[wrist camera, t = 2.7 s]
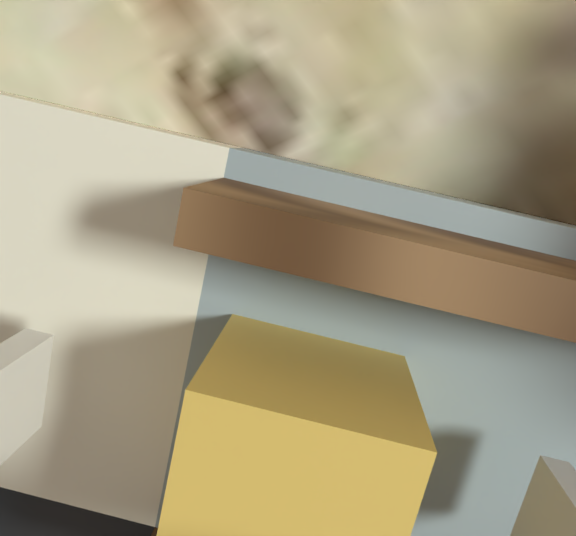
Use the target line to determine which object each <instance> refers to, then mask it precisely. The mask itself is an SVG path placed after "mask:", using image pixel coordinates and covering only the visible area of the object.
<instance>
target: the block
mask: <svg viewBox="0 0 576 536" xmlns="http://www.w3.org/2000/svg"><path fill="white" fill-rule="evenodd" d="M436 455H437V450H436V447H435V444H434V441H433V438H432V435H431V432H430V429H429V426H428V424H427V421H426V418H425V415H424V412H423V409H422V406H421V403H420V400H419V397H418V394H417V391H416V388H415V385H414V382H413V379H412V376H411V373H410V370H409V367H408V365H407V362H406V359H405V356H402V355H398V354H394V353H390V352H386V351H382V350H378V349H374V348H370V347H365V346H361V345H357V344H353V343H349V342H345V341H341V340H337V339H333V338H329V337H325V336H320V335H316V334H312V333H308V332H304V331H300V330H296V329H292V328H288V327H284V326H280V325H275V324H271V323H267V322H263V321H259V320H255V319H251V318H247V317H243V316H239V315H235V314H232V316H231V317H230V319H229V320H228V322H227V324H226V325H225V327H224V328H223V330H222V332H221V333H220V335H219V336H218V338H217V340H216V341H215V343H214V345H213V346H212V348H211V349H210V351H209V353H208V354H207V356H206V357H205V359H204V361H203V362H202V364H201V365H200V367H199V369H198V370H197V372H196V373H195V375H194V377H193V378H192V380H191V381H190V383H189V385H188V386H187V388H186V389H185V394H184V399H183V404H182V409H181V414H180V419H179V424H178V429H177V434H176V439H175V444H174V450H173V455H172V460H171V465H170V470H169V475H168V480H167V485H166V490H165V495H164V500H163V505H162V510H161V515H160V520H159V525H158V530H157V535H156V536H411V532H412V529H413V526H414V523H415V520H416V517H417V514H418V511H419V508H420V505H421V502H422V499H423V495H424V492H425V489H426V486H427V483H428V480H429V477H430V474H431V471H432V468H433V465H434V462H435V458H436Z"/></svg>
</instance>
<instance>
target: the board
mask: <svg viewBox="0 0 576 536" xmlns="http://www.w3.org/2000/svg"><path fill="white" fill-rule="evenodd" d="M220 178H228V179H232V180H236V181H240V182H245V183H249V184H253V185H257V186H261V187H266V188H270V189H274V190H278V191H283V192H287V193H291V194H295V195H300V196H304V197H308V198H312V199H317V200H321V201H325V202H329V203H334V204H338V205H342V206H346V207H350V208H355V209H359V210H363V211H367V212H372V213H376V214H380V215H384V216H389V217H393V218H397V219H401V220H406V221H410V222H414V223H418V224H423V225H427V226H431V227H435V228H439V229H444V230H448V231H452V232H456V233H461V234H465V235H469V236H473V237H478V238H482V239H486V240H490V241H495V242H499V243H503V244H507V245H511V246H516V247H520V248H524V249H528V250H533V251H537V252H541V253H545V254H550V255H554V256H558V257H562V258H567V259H571V260H575V261H576V226H575V225H571V224H567V223H562V222H558V221H554V220H550V219H545V218H541V217H537V216H532V215H528V214H524V213H520V212H515V211H511V210H507V209H503V208H498V207H494V206H490V205H485V204H481V203H477V202H473V201H468V200H464V199H460V198H455V197H451V196H447V195H443V194H438V193H434V192H430V191H426V190H421V189H417V188H413V187H408V186H404V185H400V184H396V183H391V182H387V181H383V180H379V179H374V178H370V177H366V176H361V175H357V174H353V173H349V172H344V171H340V170H336V169H331V168H327V167H323V166H319V165H314V164H310V163H306V162H302V161H297V160H293V159H289V158H284V157H280V156H276V155H272V154H267V153H263V152H259V151H254V150H250V149H246V148H242V147H237V146H233V145H229V144H225V143H220V142H216V141H212V140H207V139H203V138H199V137H195V136H190V135H186V134H182V133H178V132H173V131H169V130H165V129H160V128H156V127H152V126H148V125H143V124H139V123H135V122H130V121H126V120H122V119H118V118H113V117H109V116H105V115H101V114H96V113H92V112H88V111H83V110H79V109H75V108H71V107H66V106H62V105H58V104H54V103H49V102H45V101H41V100H36V99H32V98H28V97H24V96H19V95H15V94H11V93H6V92H2V91H0V343H2V342H3V341H5V340H7V339H9V338H10V337H12V336H14V335H15V334H17V333H19V332H21V331H22V330H24V329H26V328H27V329H31V330H35V331H39V332H43V333H47V334H51V335H54V337H53V344H52V352H51V359H50V367H49V374H48V382H47V389H46V397H45V405H44V412H43V420H42V427H41V428H39V429H38V430H37V431H36V432H35V433H34V434H33V435H32V436H31V437H30V438H29V439H28V440H27V441H26V442H25V443H24V444H23V445H22V446H20V447H19V448H18V449H17V450H16V451H15V452H14V453H13V454H12V455H11V456H10V457H9V458H8V459H7V460H6V461H5V462H4V463H3V464H2V465H0V536H151V534H152V532H153V530H154V528H155V527H156V528H158V525H159V520H160V515H161V510H162V505H163V500H164V495H165V490H166V485H167V480H168V475H169V470H170V465H171V460H172V455H173V450H174V444H175V439H176V434H177V429H178V424H179V419H180V414H181V409H182V404H183V399H184V394H185V389H186V388H187V386H188V385H189V383H190V381H191V380H192V378H193V377H194V375H195V373H196V372H197V370H198V369H199V367H200V365H201V364H202V362H203V361H204V359H205V357H206V356H207V354H208V353H209V351H210V349H211V348H212V346H213V345H214V343H215V341H216V340H217V338H218V336H219V335H220V333H221V332H222V330H223V328H224V327H225V325H226V324H227V322H228V320H229V319H230V317H231V316H232V314H235V315H239V316H243V317H247V318H251V319H255V320H259V321H263V322H267V323H271V324H275V325H280V326H284V327H288V328H292V329H296V330H300V331H304V332H308V333H312V334H316V335H320V336H325V337H329V338H333V339H337V340H341V341H345V342H349V343H353V344H357V345H361V346H365V347H370V348H374V349H378V350H382V351H386V352H390V353H394V354H398V355H402V356H405V359H406V362H407V365H408V367H409V370H410V373H411V376H412V379H413V382H414V385H415V388H416V391H417V394H418V397H419V400H420V403H421V406H422V409H423V412H424V415H425V418H426V421H427V424H428V426H429V429H430V432H431V435H432V438H433V441H434V444H435V447H436V450H437V455H436V458H435V462H434V465H433V468H432V471H431V474H430V477H429V480H428V483H427V486H426V489H425V492H424V495H423V499H422V502H421V505H420V508H419V511H418V514H417V517H416V520H415V523H414V526H413V529H412V532H411V536H510V535H511V532H512V529H513V526H514V524H515V521H516V518H517V516H518V513H519V510H520V508H521V505H522V502H523V500H524V497H525V494H526V492H527V489H528V486H529V484H530V481H531V478H532V476H533V473H534V470H535V467H536V465H537V462H538V459H539V457H540V455H542V456H546V457H550V458H554V459H558V460H562V461H567V462H570V464H571V465H572V466H573V468H574V469H575V470H576V343H574V342H570V341H566V340H562V339H558V338H553V337H549V336H545V335H541V334H537V333H533V332H528V331H524V330H520V329H516V328H512V327H508V326H504V325H499V324H495V323H491V322H487V321H483V320H479V319H475V318H470V317H466V316H462V315H458V314H454V313H450V312H445V311H441V310H437V309H433V308H429V307H425V306H421V305H416V304H412V303H408V302H404V301H400V300H396V299H392V298H387V297H383V296H379V295H375V294H371V293H367V292H363V291H358V290H354V289H350V288H346V287H342V286H338V285H333V284H329V283H325V282H321V281H317V280H313V279H309V278H304V277H300V276H296V275H292V274H288V273H284V272H280V271H275V270H271V269H267V268H263V267H259V266H255V265H250V264H246V263H242V262H238V261H234V260H230V259H226V258H221V257H217V256H213V255H209V254H205V253H201V252H197V251H192V250H188V249H184V248H180V247H176V246H173V243H174V237H175V231H176V226H177V220H178V215H179V209H180V204H181V198H182V193H183V188H184V187H188V186H192V185H196V184H200V183H204V182H208V181H212V180H216V179H220Z"/></svg>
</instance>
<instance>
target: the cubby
mask: <svg viewBox="0 0 576 536" xmlns="http://www.w3.org/2000/svg"><path fill="white" fill-rule="evenodd" d="M173 246H176V247H180V248H184V249H188V250H192V251H197V252H201V253H205V254H209V255H213V256H217V257H221V258H226V259H230V260H234V261H238V262H242V263H246V264H250V265H255V266H259V267H263V268H267V269H271V270H275V271H280V272H284V273H288V274H292V275H296V276H300V277H304V278H309V279H313V280H317V281H321V282H325V283H329V284H333V285H338V286H342V287H346V288H350V289H354V290H358V291H363V292H367V293H371V294H375V295H379V296H383V297H387V298H392V299H396V300H400V301H404V302H408V303H412V304H416V305H421V306H425V307H429V308H433V309H437V310H441V311H445V312H450V313H454V314H458V315H462V316H466V317H470V318H475V319H479V320H483V321H487V322H491V323H495V324H499V325H504V326H508V327H512V328H516V329H520V330H524V331H528V332H533V333H537V334H541V335H545V336H549V337H553V338H558V339H562V340H566V341H570V342H574V343H576V261H575V260H571V259H567V258H562V257H558V256H554V255H550V254H545V253H541V252H537V251H533V250H528V249H524V248H520V247H516V246H511V245H507V244H503V243H499V242H495V241H490V240H486V239H482V238H478V237H473V236H469V235H465V234H461V233H456V232H452V231H448V230H444V229H439V228H435V227H431V226H427V225H423V224H418V223H414V222H410V221H406V220H401V219H397V218H393V217H389V216H384V215H380V214H376V213H372V212H367V211H363V210H359V209H355V208H350V207H346V206H342V205H338V204H334V203H329V202H325V201H321V200H317V199H312V198H308V197H304V196H300V195H295V194H291V193H287V192H283V191H278V190H274V189H270V188H266V187H261V186H257V185H253V184H249V183H245V182H240V181H236V180H232V179H228V178H220V179H216V180H212V181H208V182H204V183H200V184H196V185H192V186H188V187H184V188H183V193H182V198H181V204H180V209H179V215H178V220H177V226H176V231H175V237H174V243H173ZM157 530H158V528H156V527H155V528H154V530H153V532H152V534H151V536H156V535H157Z"/></svg>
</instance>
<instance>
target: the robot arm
mask: <svg viewBox="0 0 576 536" xmlns="http://www.w3.org/2000/svg"><path fill="white" fill-rule="evenodd" d="M53 337H54V335H51V334H47V333H43V332H39V331H35V330H31V329H27V328H26V329H24V330H22V331H21V332H19V333H17V334H15V335H14V336H12V337H10V338H9V339H7V340H5V341H3V342H2V343H0V465H2V464H3V463H4V462H5V461H6V460H7V459H8V458H9V457H10V456H11V455H12V454H13V453H14V452H15V451H16V450H17V449H18V448H19V447H20V446H22V445H23V444H24V443H25V442H26V441H27V440H28V439H29V438H30V437H31V436H32V435H33V434H34V433H35V432H36V431H37V430H38V429H39V428H41V427H42V420H43V412H44V405H45V397H46V389H47V382H48V374H49V367H50V359H51V352H52V344H53ZM510 536H576V470H575V469H574V468H573V466H572V465H571V464H570V462H567V461H562V460H558V459H554V458H550V457H546V456H542V455H540V457H539V459H538V462H537V465H536V467H535V470H534V473H533V476H532V478H531V481H530V484H529V486H528V489H527V492H526V494H525V497H524V500H523V502H522V505H521V508H520V510H519V513H518V516H517V518H516V521H515V524H514V526H513V529H512V532H511V535H510Z"/></svg>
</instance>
